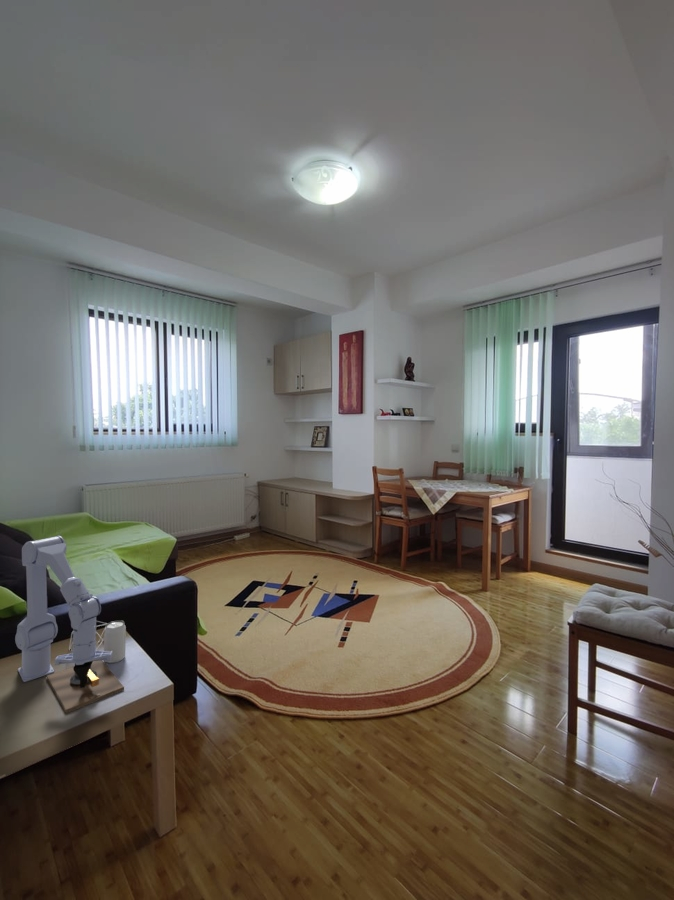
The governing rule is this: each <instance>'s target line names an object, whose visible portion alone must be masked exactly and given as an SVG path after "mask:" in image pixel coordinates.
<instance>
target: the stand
mask: <svg viewBox="0 0 674 900" xmlns="http://www.w3.org/2000/svg"><path fill="white" fill-rule="evenodd" d="M73 667H74V666H72V667H71V666H70V667H68V668H66V669H63V670H60V671H55V672H53V673H51V674H48V675H46V680H47V681H48V684H49V686H50V687H51V689H52V690H53V692H54V693H53V694H55V696H56V698H57V699H58V702H59V703H60V705H61V707H62V709H63V710H64V712H65V713H66V714H68V713H71V712H73V711H75V710H77V709H80V708H82V707H86V706H87V705H90V704H93V703H95V702H97V701H100V700H103V699H106V698H107V697H110V696H112V695H115V694H118V693H121V692H123V691H124V690H125V686H124V685H123V684H122V682H121V681H120V680H119V679H118V678H117V676H116V675H115V674H114V673H113V671H112V670H111V669H110V668H109V667H108V665H106V662H105V661H104V660H102V661H93V662H92V664H91V670H94V671H96V672H97V677H98V678H99V685H96V686H94V687H91V684H90V683H87V684H86V686H85V687H84V688H80V685H72V684H71V683H70V679H71V677H72V676H73V675H75V671H74V670H73ZM122 690H123V691H122ZM117 692H118V693H117Z"/></svg>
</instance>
